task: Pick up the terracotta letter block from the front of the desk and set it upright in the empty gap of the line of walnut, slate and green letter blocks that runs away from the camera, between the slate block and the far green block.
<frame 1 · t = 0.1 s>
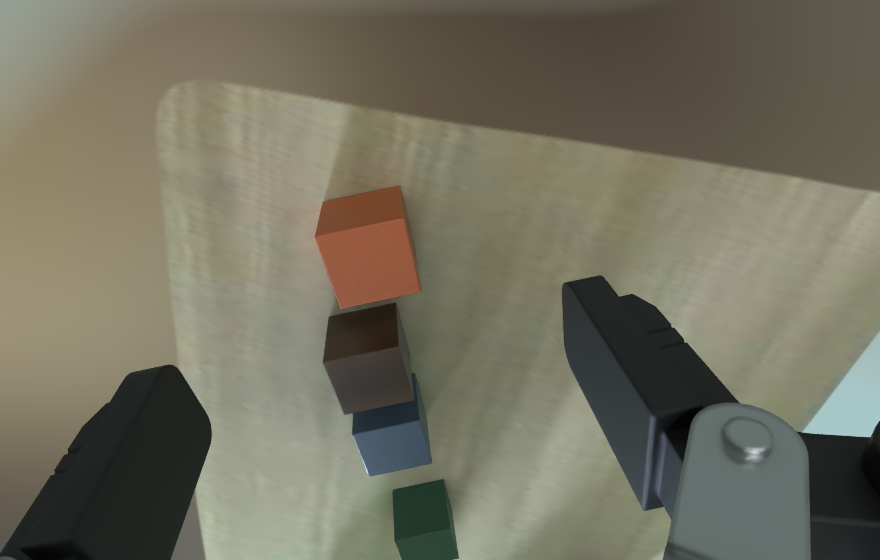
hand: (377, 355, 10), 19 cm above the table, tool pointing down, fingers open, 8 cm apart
block A: (370, 335, 34), on the table
block D: (422, 499, 44), on the table
block C: (370, 228, 29), on the table
block B: (391, 400, 37), on the table
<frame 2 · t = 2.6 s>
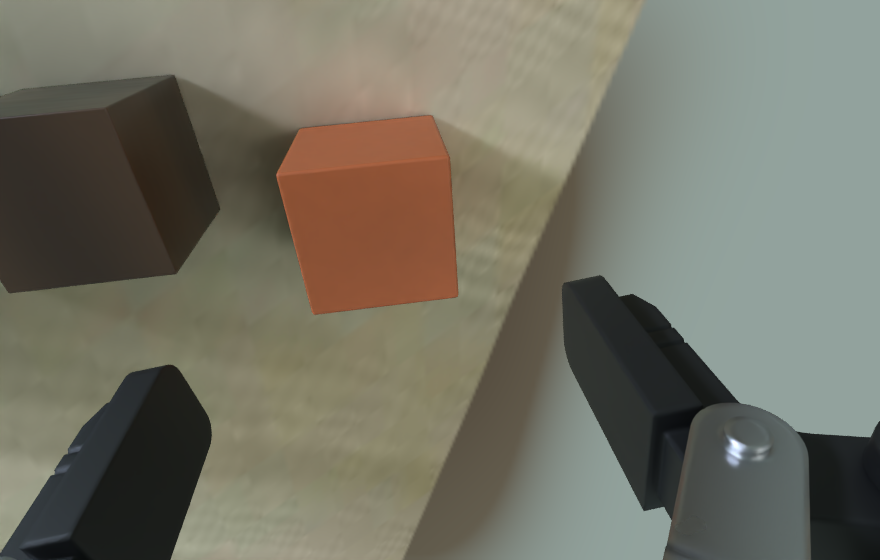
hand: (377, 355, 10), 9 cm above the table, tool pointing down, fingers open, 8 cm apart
block A: (129, 154, 16), on the table
block C: (375, 184, 18), on the table
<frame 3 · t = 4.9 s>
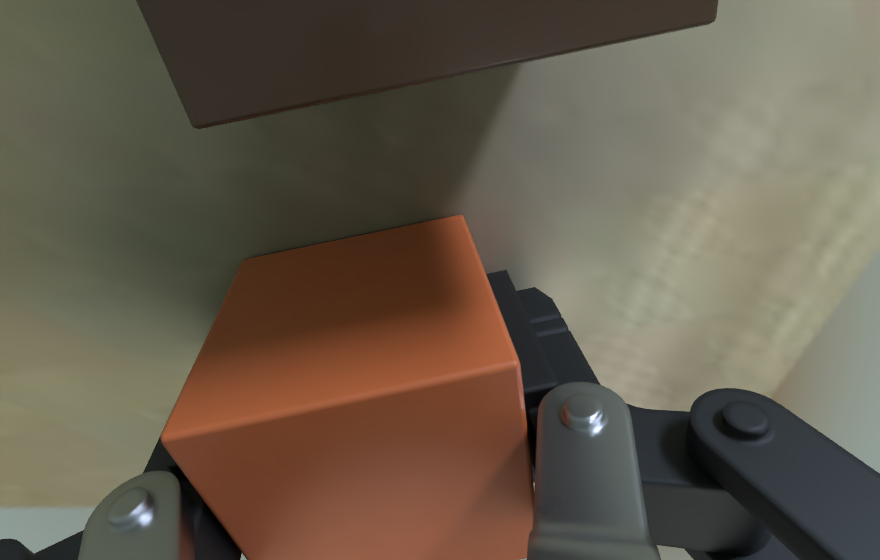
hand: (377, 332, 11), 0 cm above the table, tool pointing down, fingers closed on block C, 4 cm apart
block C: (378, 323, 11), on the table, touching gripper
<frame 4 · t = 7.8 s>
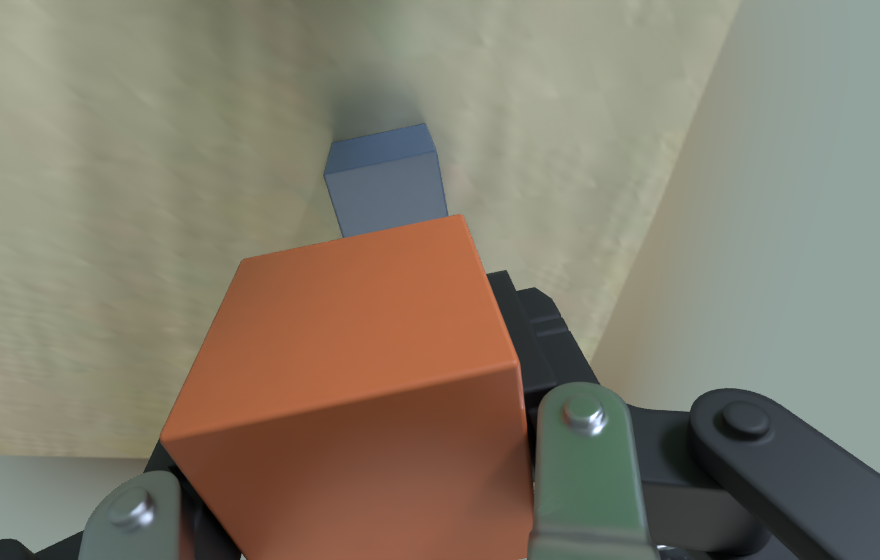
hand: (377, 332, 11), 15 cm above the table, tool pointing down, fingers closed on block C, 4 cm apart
block C: (378, 323, 11), point 14 cm above the table, touching gripper
block B: (389, 178, 24), on the table
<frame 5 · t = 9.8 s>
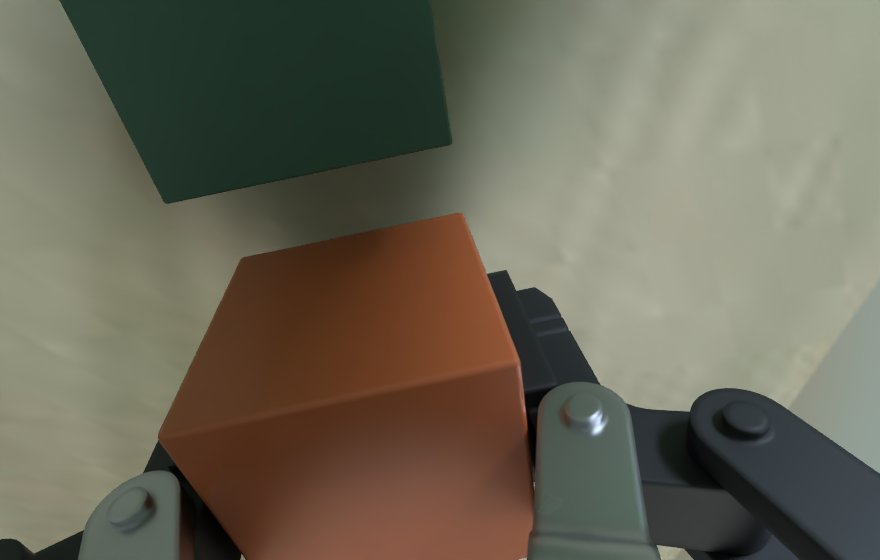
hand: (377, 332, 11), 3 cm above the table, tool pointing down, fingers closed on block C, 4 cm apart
block C: (378, 321, 11), point 3 cm above the table, touching gripper
when the fingers open (0 cm above the table, at t = 11.1 s): block C stays where it is, on the table.
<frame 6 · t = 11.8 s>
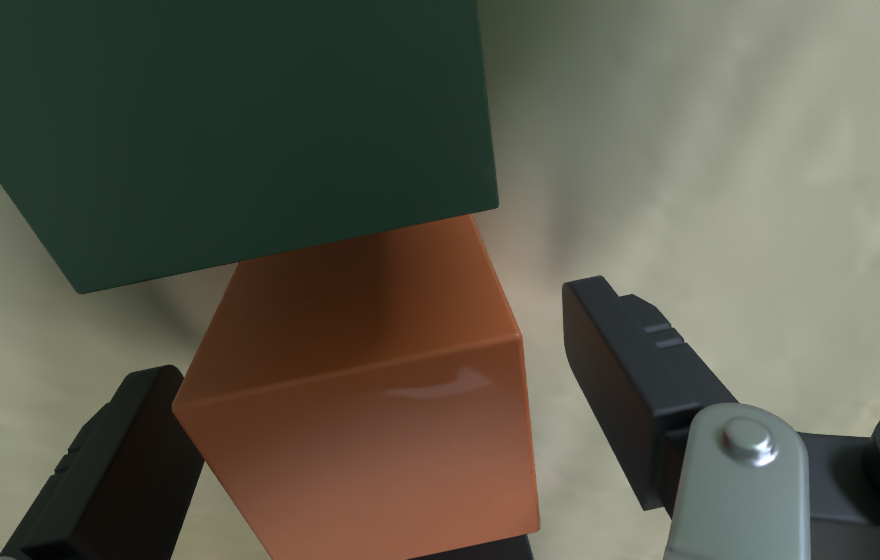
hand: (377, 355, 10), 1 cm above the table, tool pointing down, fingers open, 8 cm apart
block C: (381, 308, 11), on the table
block B: (428, 481, 15), on the table
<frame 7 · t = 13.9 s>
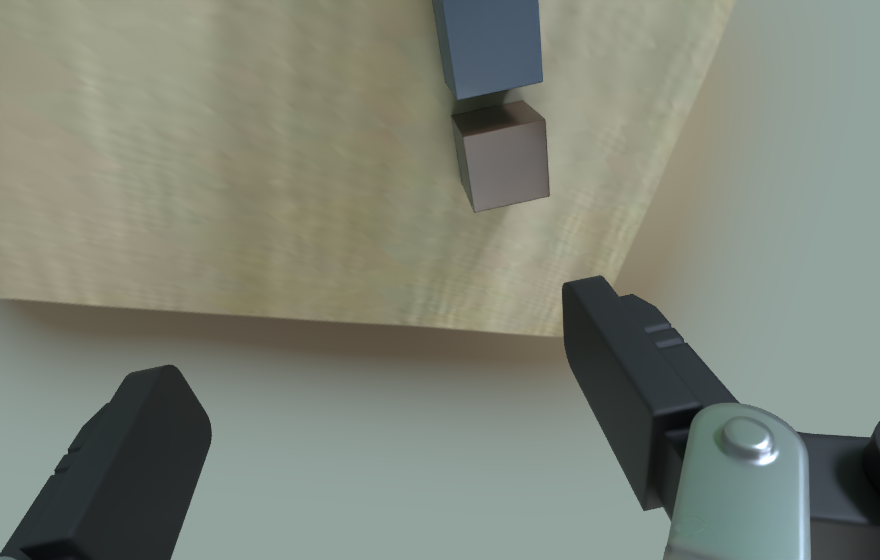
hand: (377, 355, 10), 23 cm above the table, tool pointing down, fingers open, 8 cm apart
block A: (491, 143, 31), on the table
block B: (478, 33, 28), on the table
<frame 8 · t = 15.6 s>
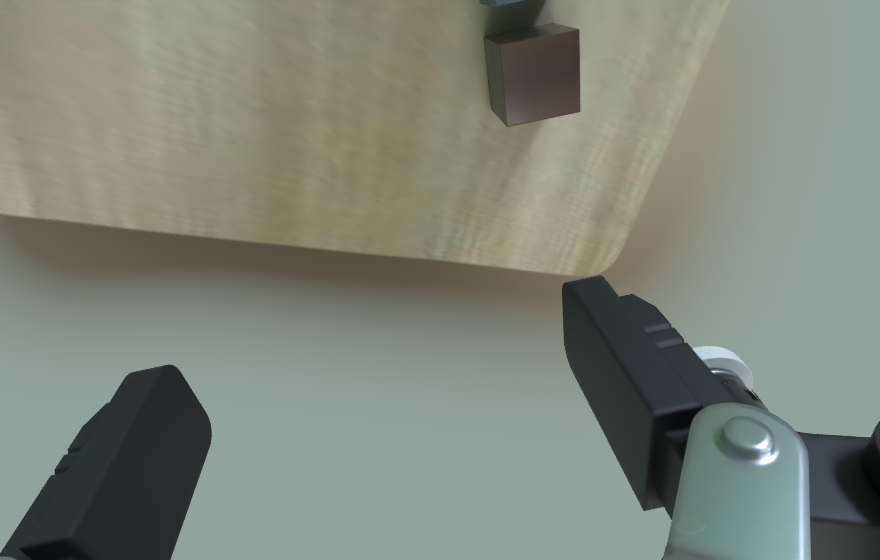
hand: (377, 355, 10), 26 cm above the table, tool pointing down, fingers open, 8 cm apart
block A: (521, 68, 32), on the table
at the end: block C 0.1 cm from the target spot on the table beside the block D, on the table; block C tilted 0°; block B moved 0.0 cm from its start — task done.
